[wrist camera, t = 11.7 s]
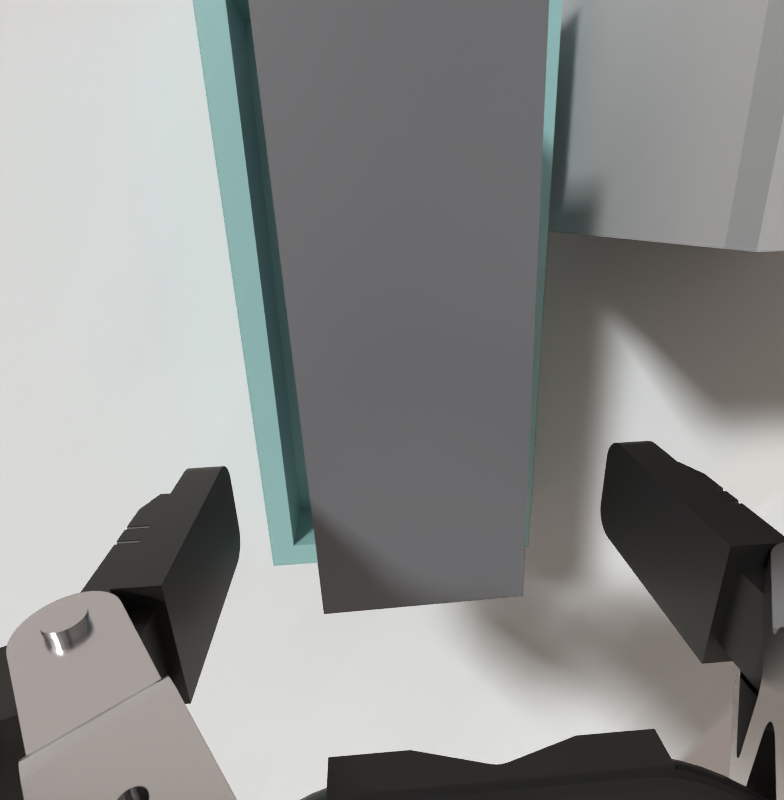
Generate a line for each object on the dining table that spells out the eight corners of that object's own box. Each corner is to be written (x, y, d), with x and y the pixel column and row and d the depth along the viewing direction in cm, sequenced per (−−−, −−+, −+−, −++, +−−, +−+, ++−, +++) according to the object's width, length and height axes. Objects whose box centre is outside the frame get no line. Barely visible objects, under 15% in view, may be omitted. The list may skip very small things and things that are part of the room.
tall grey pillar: (297, 85, 16) (244, -29, 8) (458, 78, 16) (550, -39, 8) (336, 471, 20) (325, 623, 13) (461, 461, 21) (522, 605, 13)
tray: (217, -3, 15) (184, -53, 12) (527, -10, 16) (566, -59, 13) (284, 518, 22) (273, 565, 19) (505, 502, 22) (528, 546, 19)
